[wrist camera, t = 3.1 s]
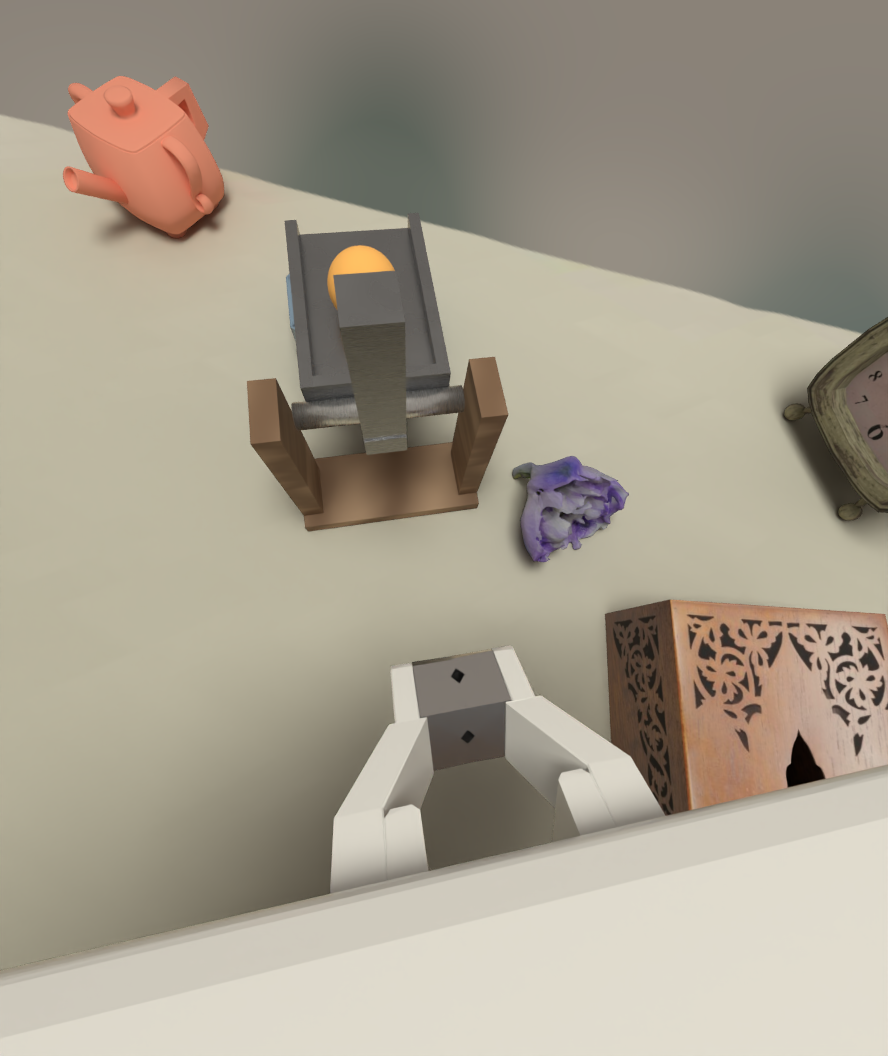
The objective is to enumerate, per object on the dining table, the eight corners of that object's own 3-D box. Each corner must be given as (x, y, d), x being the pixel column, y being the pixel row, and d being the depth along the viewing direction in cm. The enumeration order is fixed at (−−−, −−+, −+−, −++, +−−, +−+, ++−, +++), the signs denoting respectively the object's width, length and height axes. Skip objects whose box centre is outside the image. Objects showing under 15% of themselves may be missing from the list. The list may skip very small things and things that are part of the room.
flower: (471, 450, 33) (593, 502, 28) (534, 417, 39) (646, 456, 33) (464, 544, 39) (564, 602, 34) (520, 505, 44) (614, 550, 39)
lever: (302, 465, 26) (231, 339, 16) (283, 260, 30) (217, 52, 20) (468, 445, 27) (505, 315, 17) (429, 250, 31) (438, 49, 21)
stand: (308, 531, 37) (251, 460, 24) (302, 466, 39) (246, 366, 26) (476, 507, 39) (511, 429, 26) (464, 446, 41) (491, 343, 27)
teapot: (113, 256, 44) (32, 149, 34) (118, 168, 47) (46, 47, 38) (234, 250, 45) (188, 145, 36) (231, 164, 48) (189, 47, 39)
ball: (337, 343, 26) (324, 289, 23) (330, 289, 27) (317, 229, 24) (403, 337, 27) (402, 284, 23) (394, 284, 28) (392, 225, 24)
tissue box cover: (822, 999, 31) (1005, 1152, 21) (621, 996, 30) (719, 1153, 21) (766, 624, 38) (884, 614, 29) (603, 614, 38) (670, 599, 28)
